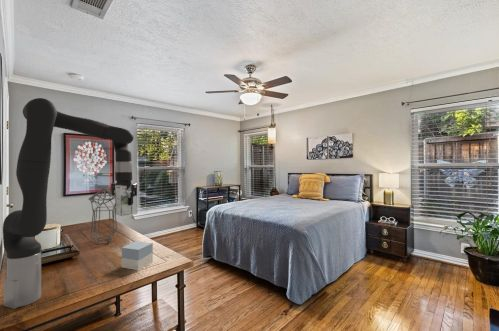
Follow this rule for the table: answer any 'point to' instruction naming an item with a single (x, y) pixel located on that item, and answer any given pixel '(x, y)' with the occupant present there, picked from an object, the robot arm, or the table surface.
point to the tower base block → (137, 262)
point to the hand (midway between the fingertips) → (124, 204)
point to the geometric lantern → (99, 215)
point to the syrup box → (122, 201)
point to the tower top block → (137, 250)
